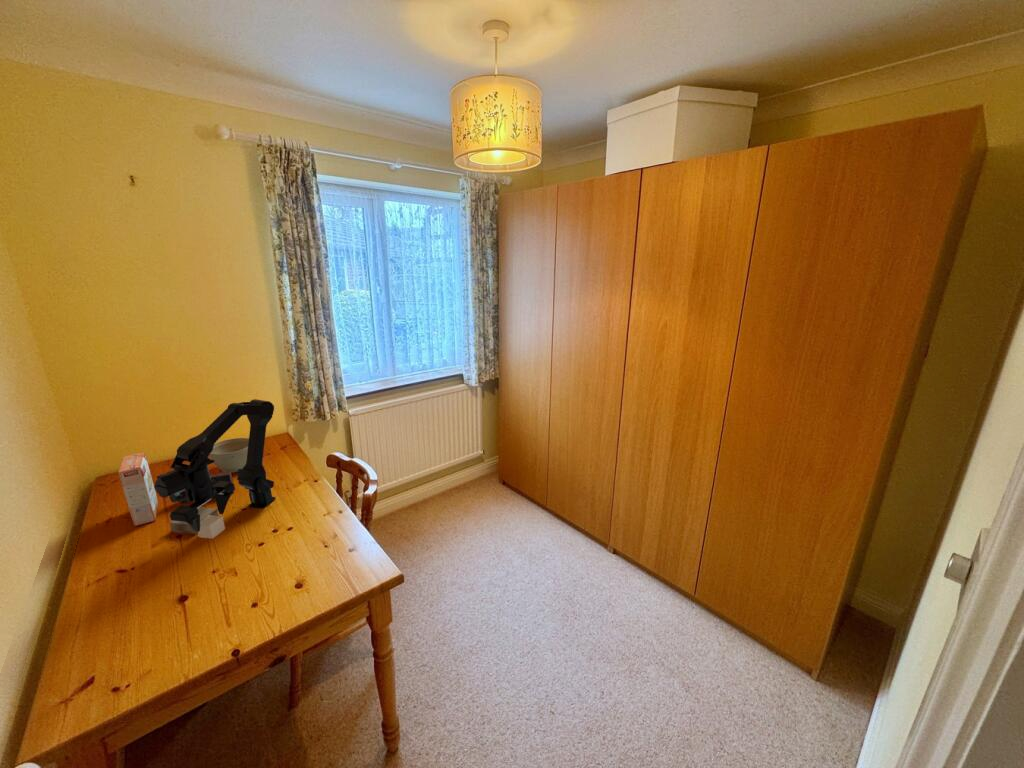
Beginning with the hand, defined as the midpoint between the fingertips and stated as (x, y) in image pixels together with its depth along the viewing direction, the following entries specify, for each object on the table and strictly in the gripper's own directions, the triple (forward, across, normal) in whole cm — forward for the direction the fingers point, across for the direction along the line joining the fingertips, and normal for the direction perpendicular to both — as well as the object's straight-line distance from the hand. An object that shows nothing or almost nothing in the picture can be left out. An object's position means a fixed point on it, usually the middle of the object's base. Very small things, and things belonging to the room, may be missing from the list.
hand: (210, 522), depth 130 cm
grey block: (+4, -3, -9) cm, 10 cm away
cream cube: (+4, 0, 0) cm, 4 cm away
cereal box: (+4, -6, -31) cm, 32 cm away
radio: (+4, -19, -18) cm, 26 cm away
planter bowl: (+4, -40, -26) cm, 48 cm away
